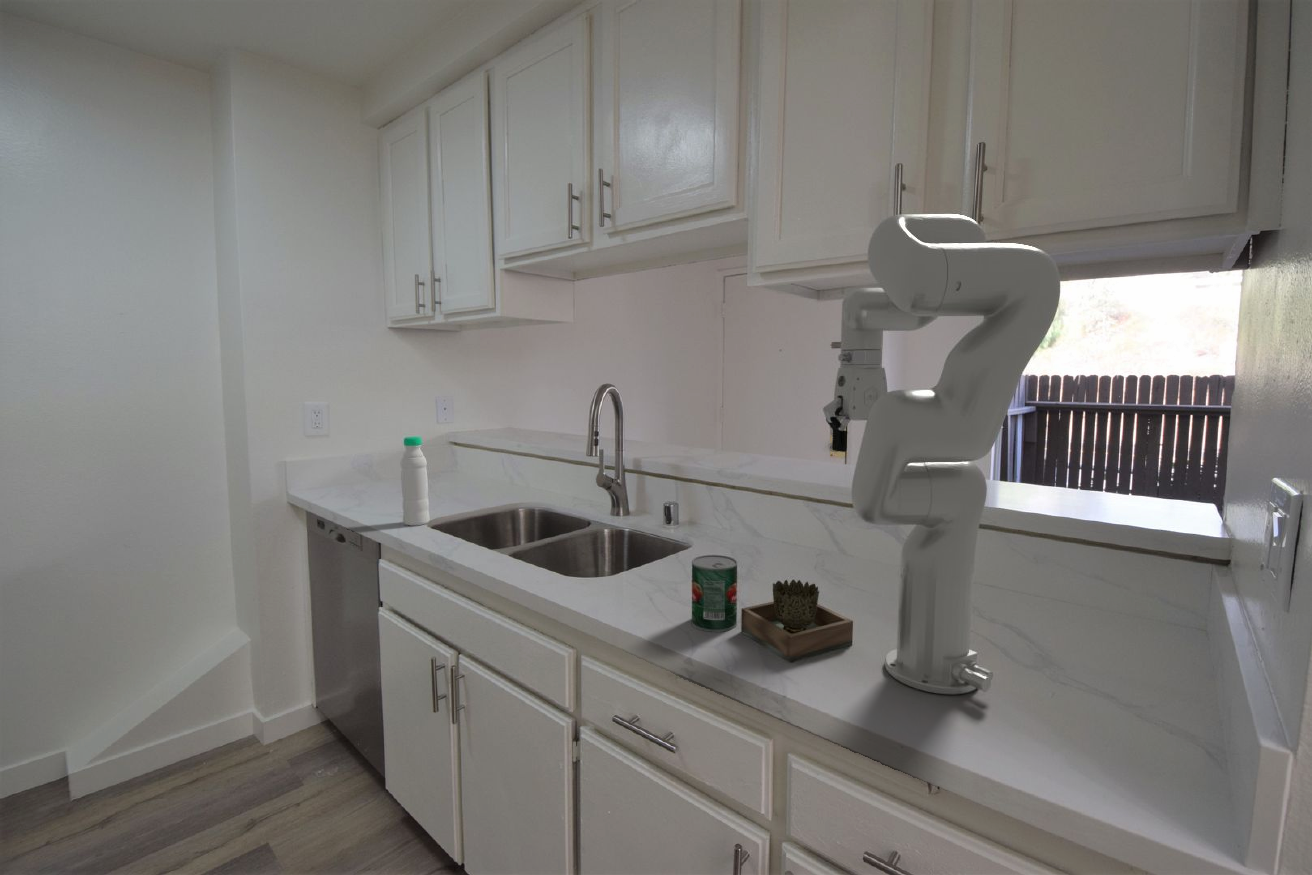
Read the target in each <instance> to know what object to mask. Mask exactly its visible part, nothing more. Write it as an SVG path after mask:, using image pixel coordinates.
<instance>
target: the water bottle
mask: <svg viewBox="0 0 1312 875" xmlns="http://www.w3.org/2000/svg"><path fill="white" fill-rule="evenodd" d="M422 444H423V440H422V437H420V436H407V437H405V438H404V439H403V445H404V448H405V451H404V453H403V456H402V458H401V460H400V467H401V473H400V474H401V476H400V480H401V481H400V482H401V493H402V510H403V514H402V515H403V516H402V518H403V519H402V520H403V522H402V523H403V525H404V526H408V525H409V526H411V527H415V526H422V525H426V524H428V523H429V522H430V520H431V519H430V518H431V517H430V510H429V505H430V503H429V502H430V501H429V483H428V482H429V479H428V471H427V470H428V469H427V468H428V467H427V464H428V460H427V458H426V456H424V453H423V451H422V450H421V447H422Z"/></svg>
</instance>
